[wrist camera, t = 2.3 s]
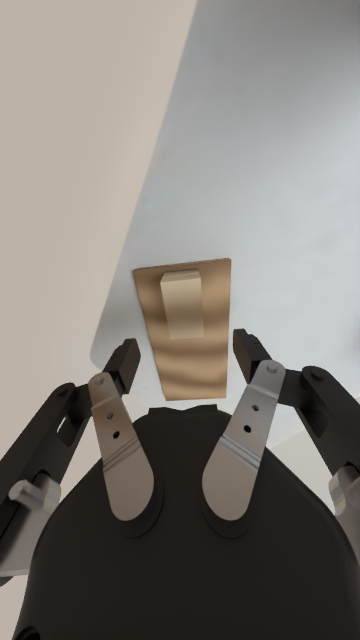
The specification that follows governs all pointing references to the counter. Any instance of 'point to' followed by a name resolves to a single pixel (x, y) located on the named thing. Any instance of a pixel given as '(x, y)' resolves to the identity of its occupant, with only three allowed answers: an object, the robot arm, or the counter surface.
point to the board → (190, 353)
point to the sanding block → (183, 303)
